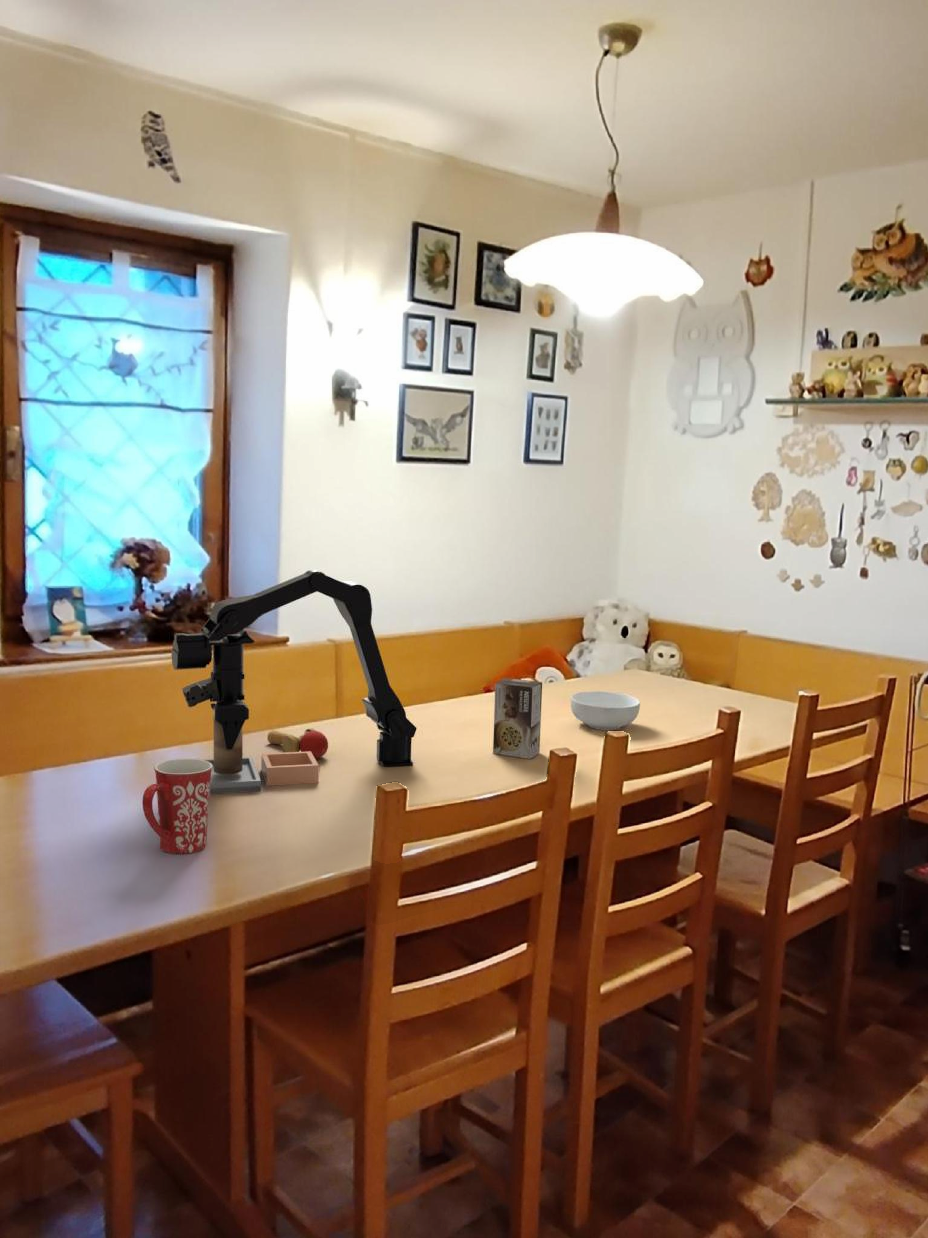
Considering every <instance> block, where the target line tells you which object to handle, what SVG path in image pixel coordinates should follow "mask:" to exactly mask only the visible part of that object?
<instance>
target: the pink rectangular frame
mask: <svg viewBox="0 0 928 1238" xmlns="http://www.w3.org/2000/svg"><path fill="white" fill-rule="evenodd" d="M260 756H261V758H260V759H261V760H260V761H261V764H260V768H261V769H260V770H261V773H262V776H263V779H264V781H265V784H266V786H282V785H283V786H284V785H298V784H302V783H303V784H317V783H319V777H320V776H319V774H320V772H319V771H320V767H319V766H320V765H319V763H318V761H317V759H315V758H314V756H313V754H312V752H311V751H307V752H301V751H299V752H272V753H268V752H267V753H265V752H264V753H261V754H260Z"/></svg>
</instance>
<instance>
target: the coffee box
mask: <svg viewBox="0 0 928 1238" xmlns="http://www.w3.org/2000/svg"><path fill="white" fill-rule="evenodd" d="M542 694H543V682H542V681H535V680H529V679H528V680H527V679H526V680H525V679H520V678H512V677H511V678H509V677H504V678H502V679H500V680H499V681H496V682H495V683H494V708H493V709H494V710H493V711H494V712H493V713H494V714H493V737H492V738H493V743H492V744H493V745H492V754H495V755H502V756H508V757H515V758H522V759H529V760H530V759H532V758H534V757H536V756H537V755H539V754H540V752H541V751H540V747H541V746H540V745H541V744H540V743H541V721H542V700H543V697H542Z"/></svg>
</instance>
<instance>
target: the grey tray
mask: <svg viewBox="0 0 928 1238" xmlns="http://www.w3.org/2000/svg"><path fill="white" fill-rule="evenodd" d="M200 760H205V761H208V762H210V763H211V764H212V766H213V767H212V770H211V781H210V794H211V795H212V794H214V795H215V794H226V793H228V794H230V793H246V792H261V790H262V786H261V785H262V783H261V782H262V781H261V777H260V775H259V772H258V769H257V766H256V763H255V761H254V759H253V757H252V756H248V757H244V756H243V758H242V771H241V772H239V773H236V774H218V773H215V772H214V758H205V759H203V758H201V759H200Z"/></svg>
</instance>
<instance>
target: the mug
mask: <svg viewBox="0 0 928 1238" xmlns="http://www.w3.org/2000/svg"><path fill="white" fill-rule="evenodd" d="M212 767H213V766H212V764H211V763H210V762H208V761H205V760H201V759H199V758H190V757H189V758H186V757H185V758H183V757H182V758H174V759H173V758H172V759H167V760H163V761H161V762H158V763H156V764H155V765H154V766H153V769H154V772H155V783H152V784H150V785H148V786H147V787H146V789H145V790H144V792H143V795H142V801H141V802H142V810H143V814H144V815H143V816H144V817H145V819H146V821H147V823H148V824H149V826H150V828H151V829H152V830H153V832H154V833H155V834H156V835H157V836H158V837H159V847H160V849H161V850H162V851H163V852H167V853H169V854H170V853H171V854H176V853H177V854H176V855H178V853H179V854H180V853H181V854H182V855H183V853H184V854H192V853H196V852H198V851H201V850H203V849H205V848H206V846H207V841H208V824H209V813H210V811H209V809H210V796H211V795H210V781H211V770H212ZM155 794H156V799H157V800H156V801H157V802H156V803H157V816H158V819H157V818H156V816H155V813H154V809H153V802H154V801H153V800H154V796H155ZM181 854H180V855H181Z"/></svg>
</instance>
